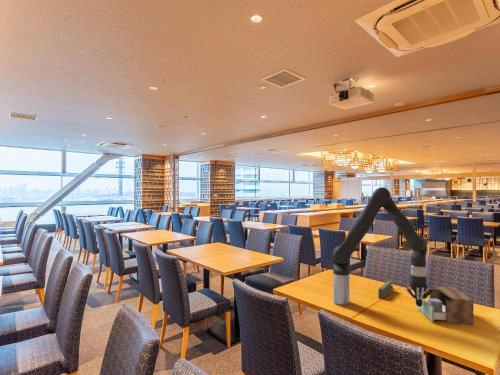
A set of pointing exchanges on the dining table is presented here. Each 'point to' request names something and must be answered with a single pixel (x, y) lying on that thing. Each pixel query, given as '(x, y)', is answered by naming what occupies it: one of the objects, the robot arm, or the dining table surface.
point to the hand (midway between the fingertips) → (418, 306)
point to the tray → (432, 311)
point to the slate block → (436, 305)
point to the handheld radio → (385, 289)
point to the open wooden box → (454, 305)
